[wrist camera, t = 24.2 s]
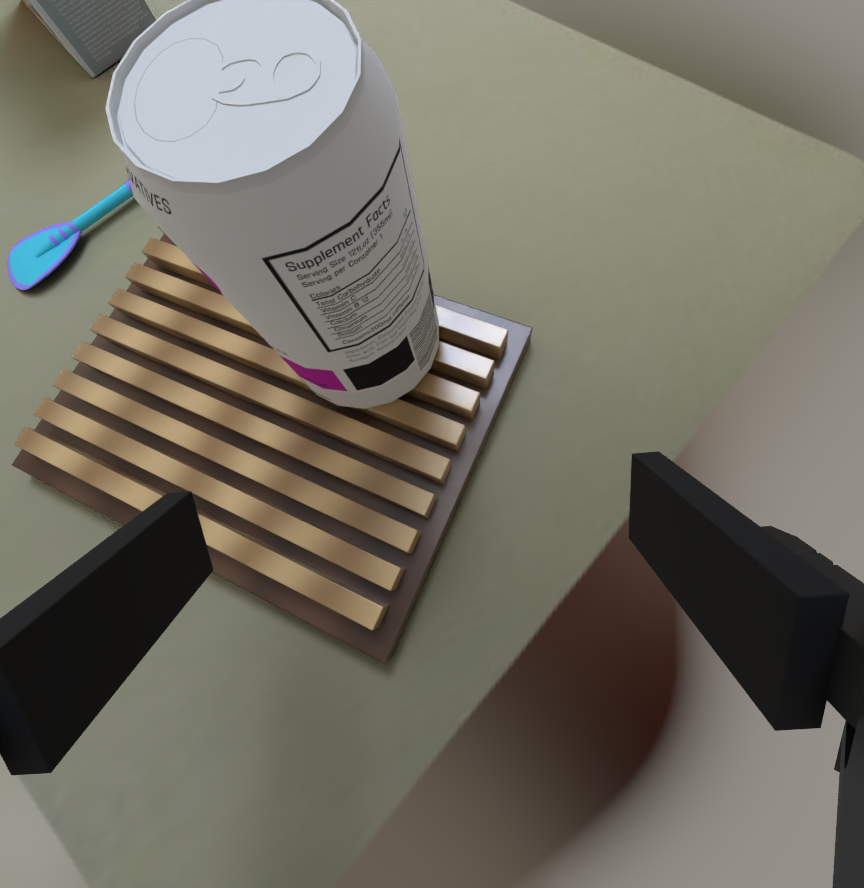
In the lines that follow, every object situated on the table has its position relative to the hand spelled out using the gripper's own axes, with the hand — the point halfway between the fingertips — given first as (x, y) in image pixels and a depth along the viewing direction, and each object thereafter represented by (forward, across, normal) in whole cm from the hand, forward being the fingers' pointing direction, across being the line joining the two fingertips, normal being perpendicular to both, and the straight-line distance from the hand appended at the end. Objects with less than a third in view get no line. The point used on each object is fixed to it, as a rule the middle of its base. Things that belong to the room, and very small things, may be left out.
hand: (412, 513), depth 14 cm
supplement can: (+14, -3, +4) cm, 15 cm away
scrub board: (+16, -10, 0) cm, 19 cm away
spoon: (+27, -20, +16) cm, 37 cm away
